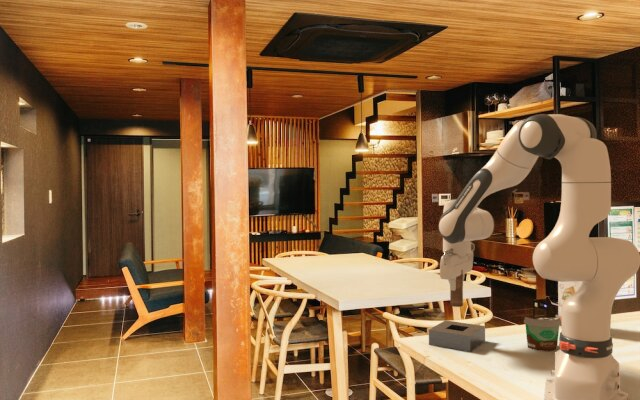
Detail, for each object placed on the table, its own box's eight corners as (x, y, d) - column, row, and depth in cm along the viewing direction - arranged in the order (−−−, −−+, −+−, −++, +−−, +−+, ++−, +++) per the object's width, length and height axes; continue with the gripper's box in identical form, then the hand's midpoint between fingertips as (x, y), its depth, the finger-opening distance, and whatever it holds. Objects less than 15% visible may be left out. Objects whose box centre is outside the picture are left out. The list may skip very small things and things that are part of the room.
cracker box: (557, 325, 195) (557, 268, 194) (570, 323, 197) (570, 267, 196) (587, 335, 182) (587, 274, 181) (600, 333, 184) (600, 273, 183)
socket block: (470, 352, 166) (470, 336, 165) (428, 344, 174) (428, 329, 174) (485, 340, 177) (485, 326, 177) (445, 334, 185) (445, 320, 185)
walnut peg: (460, 307, 172) (459, 270, 172) (448, 305, 175) (448, 269, 174) (464, 304, 176) (464, 269, 175) (453, 303, 178) (452, 268, 178)
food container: (535, 353, 163) (535, 321, 163) (523, 347, 169) (523, 316, 169) (570, 350, 166) (570, 319, 165) (557, 344, 172) (557, 314, 171)
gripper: (453, 251, 164) (453, 295, 165) (476, 244, 181) (476, 284, 181) (434, 250, 168) (434, 293, 168) (458, 243, 184) (458, 282, 185)
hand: (456, 288), depth 175 cm, fingers closed on walnut peg, 4 cm apart
